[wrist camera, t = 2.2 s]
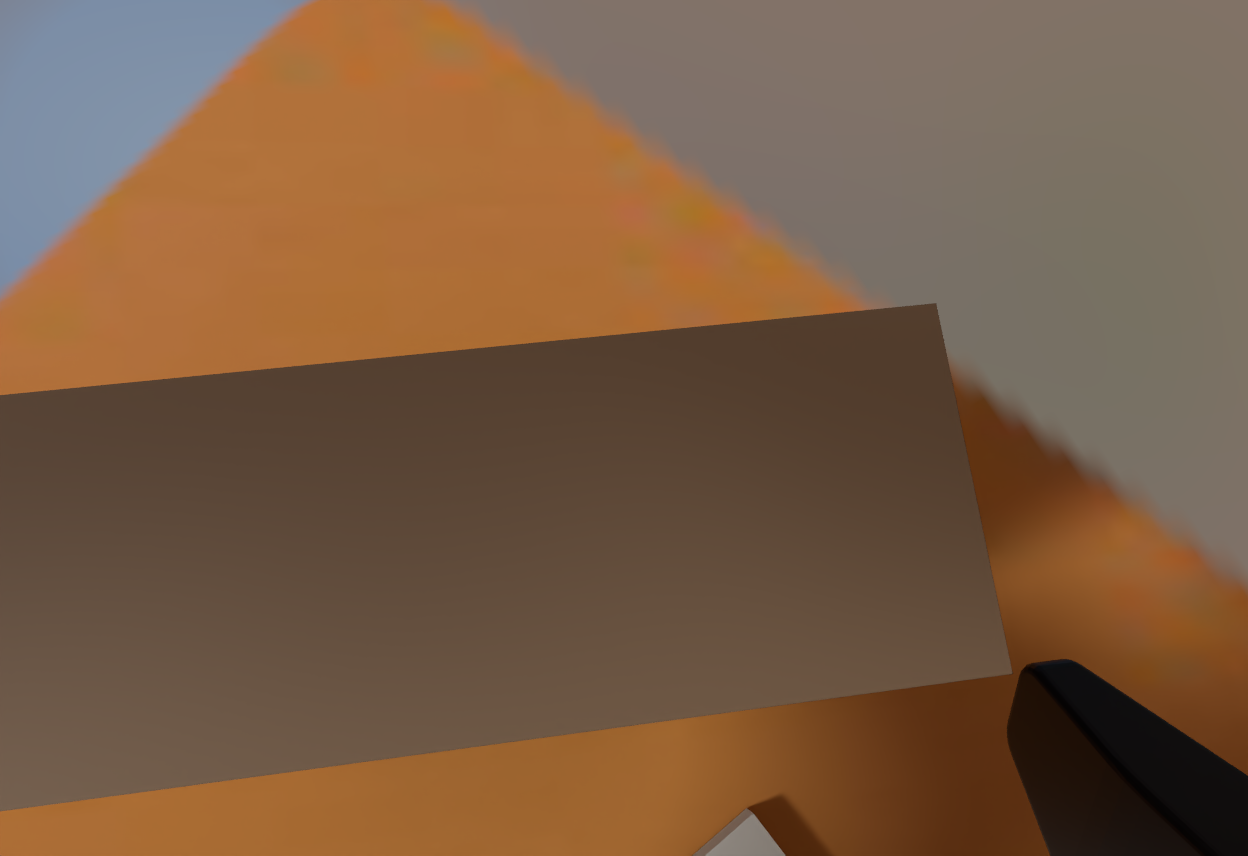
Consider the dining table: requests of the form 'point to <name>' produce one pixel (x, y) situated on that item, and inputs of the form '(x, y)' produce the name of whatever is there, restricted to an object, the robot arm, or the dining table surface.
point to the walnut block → (480, 549)
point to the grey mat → (741, 839)
